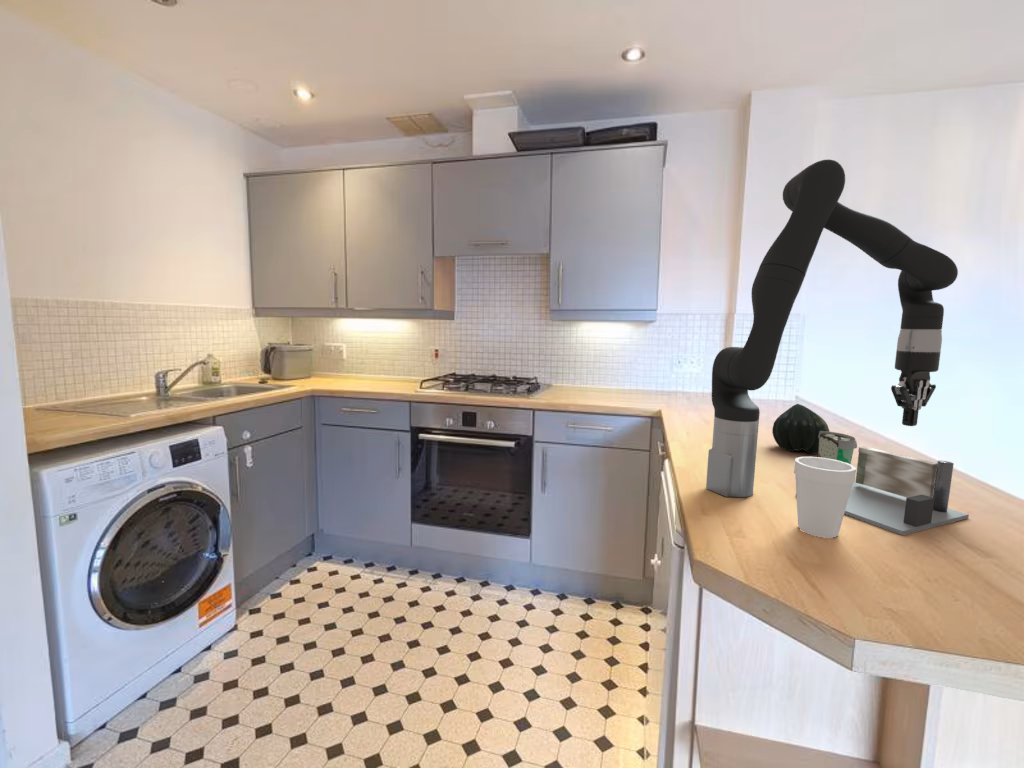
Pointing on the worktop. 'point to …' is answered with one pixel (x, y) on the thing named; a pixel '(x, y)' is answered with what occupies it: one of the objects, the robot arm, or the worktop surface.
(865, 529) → the worktop surface
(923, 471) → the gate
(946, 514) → the plaque display stand
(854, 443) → the food container
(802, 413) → the squash
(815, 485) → the foam cup
